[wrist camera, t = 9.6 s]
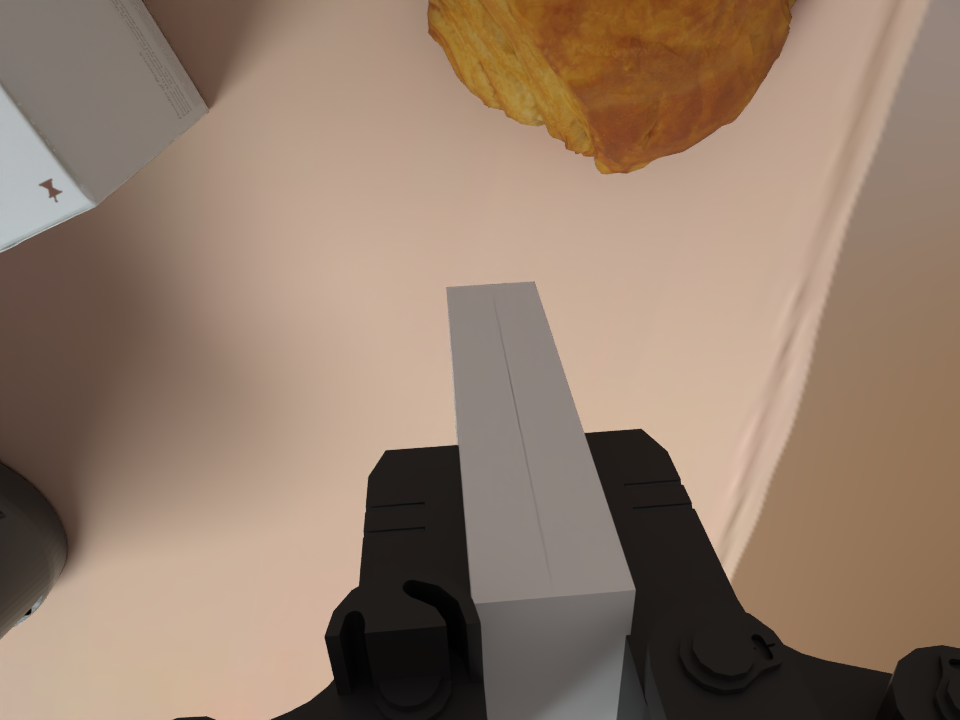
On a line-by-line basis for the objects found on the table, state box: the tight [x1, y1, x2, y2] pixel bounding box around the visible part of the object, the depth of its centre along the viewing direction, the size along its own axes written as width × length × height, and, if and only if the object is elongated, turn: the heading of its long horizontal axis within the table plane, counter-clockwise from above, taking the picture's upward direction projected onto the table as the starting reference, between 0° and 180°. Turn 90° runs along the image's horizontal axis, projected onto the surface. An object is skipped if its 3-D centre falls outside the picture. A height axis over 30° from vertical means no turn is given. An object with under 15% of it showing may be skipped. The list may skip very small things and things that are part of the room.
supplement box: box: [0, 0, 209, 252], centre depth 26 cm, size 7×7×13 cm
